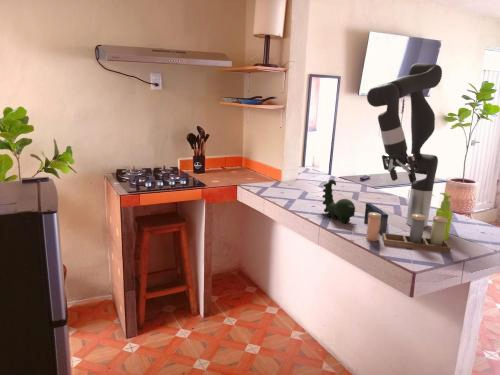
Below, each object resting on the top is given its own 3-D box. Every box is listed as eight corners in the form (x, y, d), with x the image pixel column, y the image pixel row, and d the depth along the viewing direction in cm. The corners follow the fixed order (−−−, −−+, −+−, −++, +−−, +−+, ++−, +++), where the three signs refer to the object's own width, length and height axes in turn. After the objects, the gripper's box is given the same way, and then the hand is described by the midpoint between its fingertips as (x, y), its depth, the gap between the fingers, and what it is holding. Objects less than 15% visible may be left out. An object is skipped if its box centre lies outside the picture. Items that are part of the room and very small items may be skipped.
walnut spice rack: (381, 240, 157) (382, 232, 156) (444, 248, 152) (445, 240, 151) (383, 248, 149) (384, 239, 148) (449, 256, 144) (450, 247, 143)
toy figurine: (317, 215, 194) (344, 227, 170) (318, 178, 191) (346, 185, 168) (333, 214, 197) (362, 225, 173) (334, 177, 194) (364, 184, 171)
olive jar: (427, 244, 151) (432, 215, 148) (440, 245, 150) (445, 216, 147) (430, 248, 147) (434, 219, 144) (443, 250, 145) (448, 220, 143)
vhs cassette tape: (363, 223, 179) (365, 202, 177) (369, 223, 180) (372, 202, 177) (379, 237, 162) (381, 214, 159) (385, 237, 162) (388, 214, 160)
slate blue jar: (407, 241, 153) (411, 213, 150) (420, 243, 152) (424, 214, 149) (409, 246, 148) (413, 216, 146) (422, 247, 147) (426, 218, 144)
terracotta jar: (365, 239, 158) (368, 211, 155) (377, 241, 157) (380, 213, 154) (365, 243, 153) (369, 215, 150) (378, 245, 152) (381, 216, 149)
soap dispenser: (441, 237, 164) (449, 192, 160) (450, 243, 158) (458, 196, 153) (428, 236, 164) (435, 191, 159) (436, 242, 157) (444, 195, 153)
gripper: (417, 135, 132) (426, 178, 136) (386, 136, 145) (396, 175, 149) (401, 144, 129) (412, 187, 134) (372, 143, 142) (382, 183, 146)
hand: (403, 181), depth 141 cm, fingers open, 8 cm apart
